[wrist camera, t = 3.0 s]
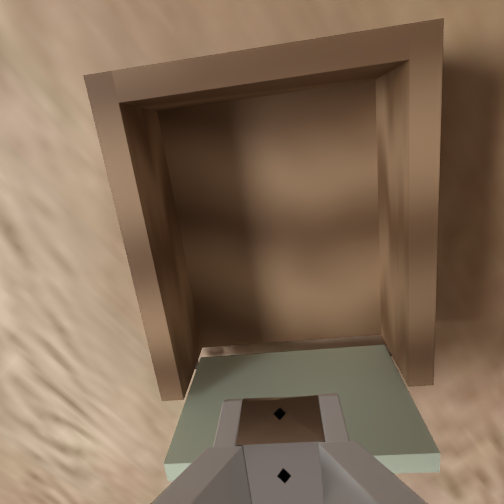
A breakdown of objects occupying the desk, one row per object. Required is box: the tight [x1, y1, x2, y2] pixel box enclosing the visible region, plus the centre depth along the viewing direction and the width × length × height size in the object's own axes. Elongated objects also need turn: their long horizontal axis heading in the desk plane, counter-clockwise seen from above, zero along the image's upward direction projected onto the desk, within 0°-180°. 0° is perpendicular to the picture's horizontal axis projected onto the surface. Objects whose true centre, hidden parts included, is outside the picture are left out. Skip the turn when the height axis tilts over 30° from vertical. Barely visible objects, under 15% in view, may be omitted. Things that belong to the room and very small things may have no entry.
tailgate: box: [164, 345, 440, 481], centre depth 19 cm, size 1×12×8 cm, turn 97°
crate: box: [83, 18, 444, 401], centre depth 19 cm, size 17×14×6 cm
